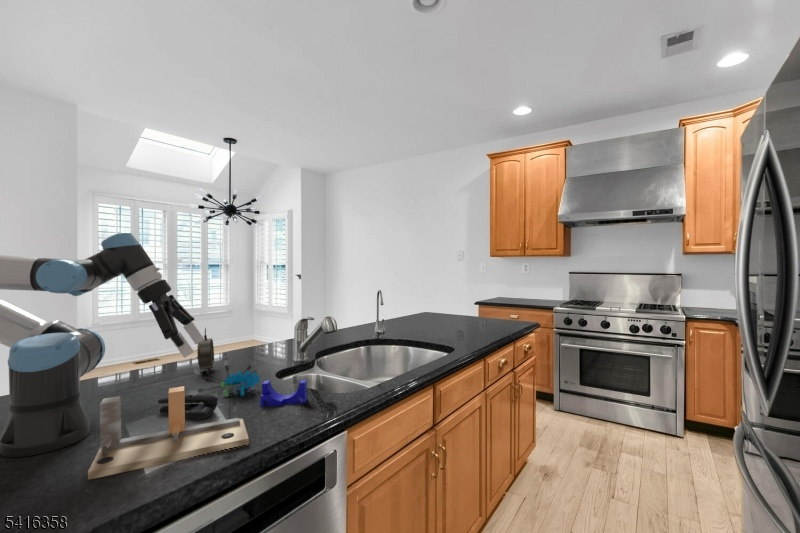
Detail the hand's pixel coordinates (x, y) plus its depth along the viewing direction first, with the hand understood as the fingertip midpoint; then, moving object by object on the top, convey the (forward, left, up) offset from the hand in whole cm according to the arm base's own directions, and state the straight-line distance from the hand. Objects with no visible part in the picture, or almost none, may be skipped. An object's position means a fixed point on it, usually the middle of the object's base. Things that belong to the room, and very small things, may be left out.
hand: (195, 348), depth 109 cm
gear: (+12, +3, -16) cm, 20 cm away
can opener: (-2, -7, -16) cm, 18 cm away
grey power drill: (+3, +34, -16) cm, 38 cm away
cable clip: (+22, -12, -16) cm, 30 cm away
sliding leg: (-4, -27, -13) cm, 30 cm away
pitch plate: (-4, -28, -16) cm, 32 cm away
